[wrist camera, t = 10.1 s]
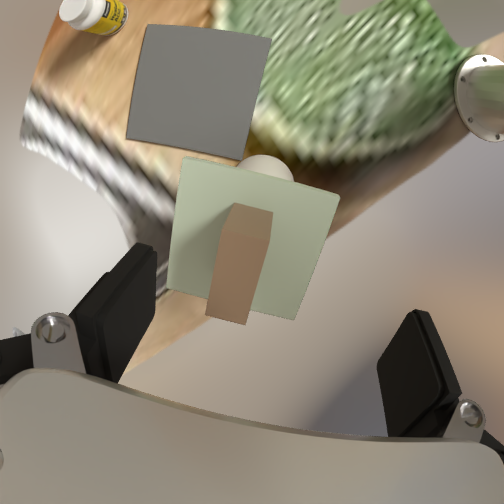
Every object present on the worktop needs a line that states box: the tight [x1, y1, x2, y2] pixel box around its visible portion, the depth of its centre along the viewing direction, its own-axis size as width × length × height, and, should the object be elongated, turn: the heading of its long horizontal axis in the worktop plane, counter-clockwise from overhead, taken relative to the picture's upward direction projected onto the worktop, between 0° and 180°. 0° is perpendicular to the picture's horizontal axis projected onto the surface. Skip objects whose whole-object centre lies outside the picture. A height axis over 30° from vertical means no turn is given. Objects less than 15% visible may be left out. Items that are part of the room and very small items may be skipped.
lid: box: [166, 156, 340, 325], centre depth 23 cm, size 12×12×6 cm
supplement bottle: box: [59, 0, 128, 36], centre depth 26 cm, size 5×5×10 cm
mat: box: [126, 24, 272, 161], centre depth 34 cm, size 16×16×1 cm
